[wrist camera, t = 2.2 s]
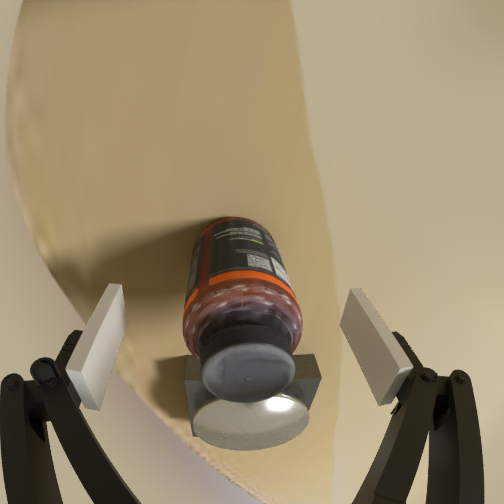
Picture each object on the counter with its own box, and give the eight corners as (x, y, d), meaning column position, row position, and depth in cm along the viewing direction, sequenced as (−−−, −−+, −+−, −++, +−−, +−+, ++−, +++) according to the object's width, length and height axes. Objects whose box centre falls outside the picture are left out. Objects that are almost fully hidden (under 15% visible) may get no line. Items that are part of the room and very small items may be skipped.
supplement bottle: (206, 294, 23) (199, 422, 13) (183, 224, 20) (149, 340, 10) (282, 278, 23) (319, 401, 13) (269, 205, 20) (314, 310, 10)
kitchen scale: (186, 354, 26) (182, 395, 21) (314, 353, 27) (326, 392, 23) (194, 417, 31) (192, 451, 27) (293, 415, 32) (300, 448, 28)
